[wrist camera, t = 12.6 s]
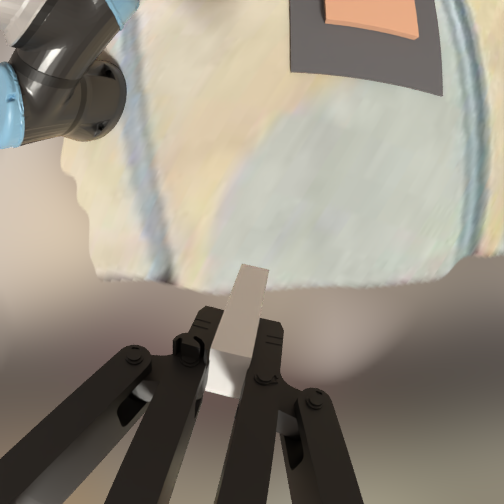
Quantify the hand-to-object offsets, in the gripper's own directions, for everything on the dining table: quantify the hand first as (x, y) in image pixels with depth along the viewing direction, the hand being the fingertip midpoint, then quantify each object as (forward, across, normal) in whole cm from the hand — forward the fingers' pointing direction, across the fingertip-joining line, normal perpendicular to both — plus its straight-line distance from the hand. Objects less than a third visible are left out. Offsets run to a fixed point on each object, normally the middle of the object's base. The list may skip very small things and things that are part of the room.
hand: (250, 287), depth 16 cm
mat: (+29, +8, +33) cm, 45 cm away
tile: (+28, +9, +27) cm, 40 cm away
